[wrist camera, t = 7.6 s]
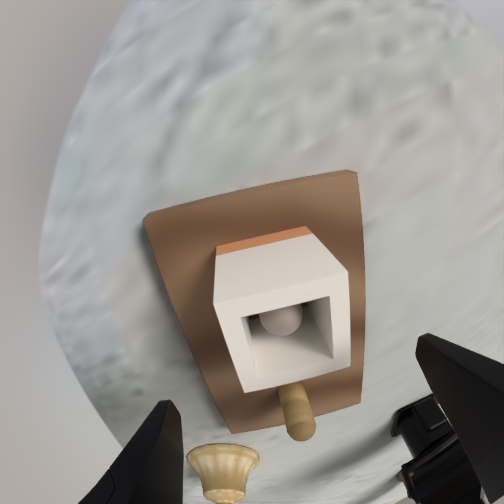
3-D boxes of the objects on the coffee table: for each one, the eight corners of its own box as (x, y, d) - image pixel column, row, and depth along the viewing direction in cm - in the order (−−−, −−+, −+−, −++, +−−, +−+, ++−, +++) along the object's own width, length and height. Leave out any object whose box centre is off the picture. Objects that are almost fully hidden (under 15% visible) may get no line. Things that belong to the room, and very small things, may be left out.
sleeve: (315, 301, 18) (350, 366, 12) (237, 320, 18) (244, 393, 12) (305, 225, 16) (347, 271, 10) (216, 246, 16) (213, 304, 10)
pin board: (355, 391, 24) (379, 443, 18) (230, 421, 24) (234, 479, 18) (346, 169, 16) (407, 186, 10) (149, 212, 16) (110, 252, 10)
